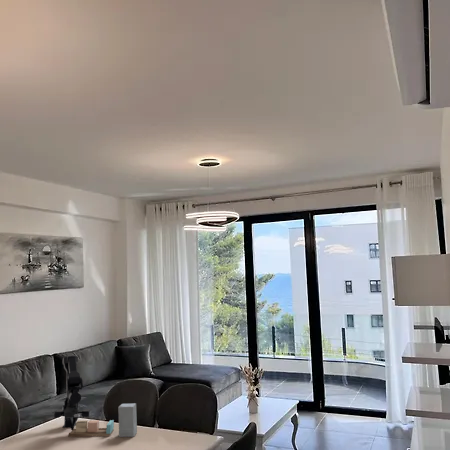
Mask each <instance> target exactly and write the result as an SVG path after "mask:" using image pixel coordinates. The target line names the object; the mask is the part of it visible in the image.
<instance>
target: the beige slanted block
mask: <svg viewBox="0 0 450 450" xmlns="http://www.w3.org/2000/svg"><path fill="white" fill-rule="evenodd" d="M88 422H89V421H88V420H77V421H76V425H75V429H76V432H86V431H87V428H88Z"/></svg>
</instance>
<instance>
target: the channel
mask: <svg viewBox="0 0 450 450" xmlns="http://www.w3.org/2000/svg"><path fill="white" fill-rule="evenodd" d="M106 429H107V427H99V430H98V432H88V427H87V431H86V432H76V428H74V429H73V430H71V431H70V432H68V435H67V437H68V438H79V437H80V438H81V437H83V438H84V437H87V438H88V437H91V438H92V437H111V436H112V434H113V432H114V430H115V429H113V430H112V432H111V433H110V434H106Z"/></svg>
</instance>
